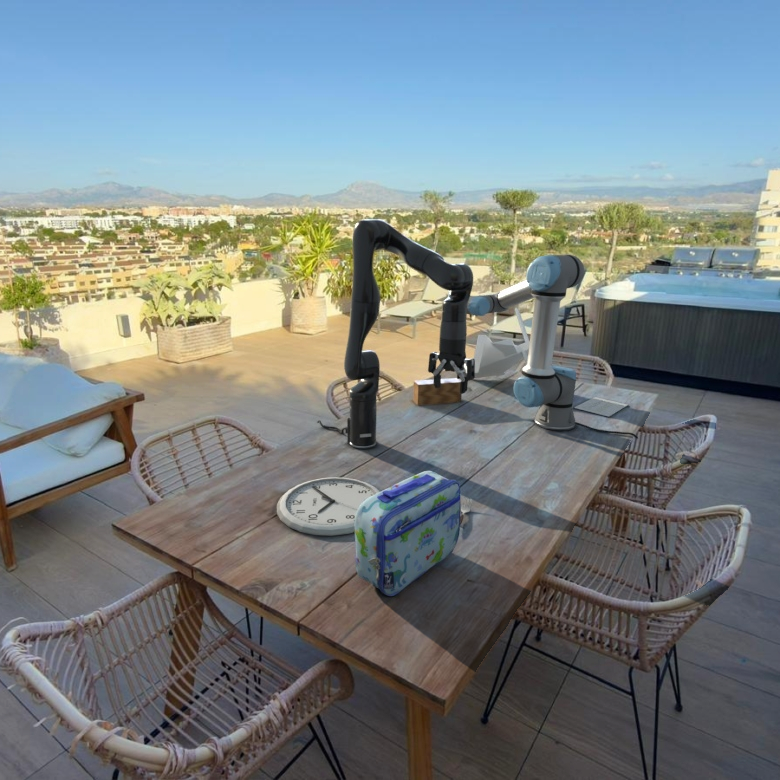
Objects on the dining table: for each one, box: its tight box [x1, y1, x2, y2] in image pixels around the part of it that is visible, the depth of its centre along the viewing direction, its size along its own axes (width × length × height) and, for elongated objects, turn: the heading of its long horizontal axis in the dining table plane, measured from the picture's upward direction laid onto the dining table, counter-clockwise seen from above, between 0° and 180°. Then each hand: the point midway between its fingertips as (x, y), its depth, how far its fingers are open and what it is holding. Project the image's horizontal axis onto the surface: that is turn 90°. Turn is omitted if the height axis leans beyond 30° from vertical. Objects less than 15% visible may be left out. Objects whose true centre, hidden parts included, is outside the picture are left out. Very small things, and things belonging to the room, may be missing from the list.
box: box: [412, 377, 463, 406], centre depth 228 cm, size 20×6×9 cm, turn 106°
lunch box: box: [354, 470, 462, 597], centre depth 113 cm, size 26×11×21 cm, turn 134°
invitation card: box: [573, 396, 629, 418], centre depth 226 cm, size 21×1×15 cm
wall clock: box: [276, 476, 382, 537], centre depth 142 cm, size 30×2×30 cm
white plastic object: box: [464, 307, 530, 379], centre depth 256 cm, size 37×45×31 cm
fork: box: [460, 497, 473, 526], centre depth 137 cm, size 3×16×2 cm, turn 160°
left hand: (450, 390), depth 154 cm, fingers open, 8 cm apart
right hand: (454, 374), depth 228 cm, fingers open, 13 cm apart
